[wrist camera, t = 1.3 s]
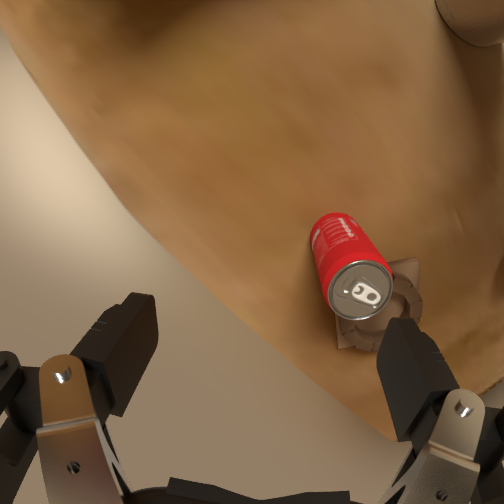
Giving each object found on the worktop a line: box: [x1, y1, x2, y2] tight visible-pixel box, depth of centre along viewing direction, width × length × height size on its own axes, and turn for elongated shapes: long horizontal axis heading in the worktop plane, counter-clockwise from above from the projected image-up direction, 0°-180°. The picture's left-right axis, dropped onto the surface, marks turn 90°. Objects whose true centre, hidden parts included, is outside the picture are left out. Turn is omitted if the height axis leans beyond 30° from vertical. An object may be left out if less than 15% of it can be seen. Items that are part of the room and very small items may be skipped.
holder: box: [335, 257, 422, 352], centre depth 33 cm, size 10×10×3 cm
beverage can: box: [310, 213, 393, 320], centre depth 26 cm, size 5×5×12 cm
